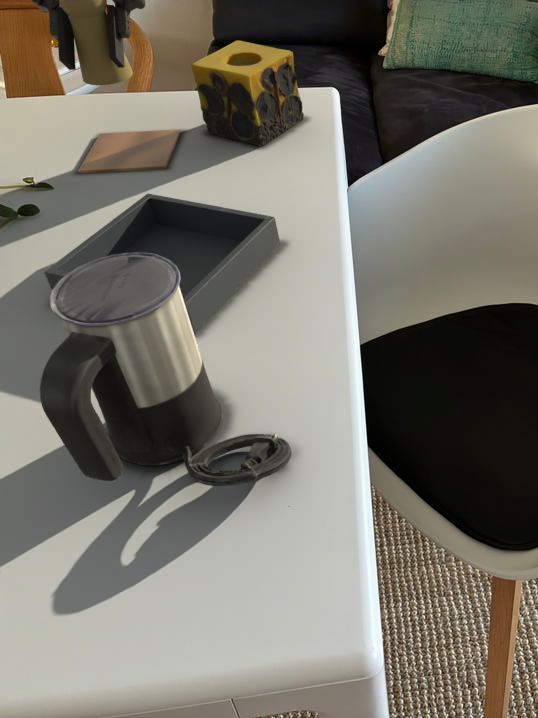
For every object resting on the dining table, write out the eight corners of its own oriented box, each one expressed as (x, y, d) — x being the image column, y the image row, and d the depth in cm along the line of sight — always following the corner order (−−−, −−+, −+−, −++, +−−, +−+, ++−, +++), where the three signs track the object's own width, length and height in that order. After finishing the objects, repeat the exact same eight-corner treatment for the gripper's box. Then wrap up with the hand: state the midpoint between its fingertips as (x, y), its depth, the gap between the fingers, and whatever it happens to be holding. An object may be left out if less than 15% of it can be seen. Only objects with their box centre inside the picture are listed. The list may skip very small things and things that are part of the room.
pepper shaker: (98, 89, 95) (65, -6, 88) (73, 77, 98) (40, -16, 91) (142, 74, 99) (114, -18, 92) (117, 63, 102) (88, -28, 95)
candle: (251, 107, 116) (237, 38, 110) (306, 119, 113) (295, 50, 106) (205, 134, 109) (187, 63, 103) (262, 148, 106) (248, 75, 99)
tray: (57, 302, 80) (43, 271, 77) (156, 221, 92) (147, 193, 89) (195, 334, 76) (185, 303, 73) (281, 246, 88) (275, 216, 85)
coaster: (78, 173, 101) (77, 170, 101) (100, 136, 109) (99, 133, 109) (165, 168, 102) (165, 166, 101) (180, 132, 110) (180, 129, 110)
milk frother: (128, 391, 70) (70, 252, 60) (305, 382, 71) (277, 243, 61) (79, 520, 59) (-2, 376, 49) (288, 507, 60) (249, 363, 50)
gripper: (168, -103, 100) (179, 73, 98) (21, -99, 98) (30, 80, 97) (147, -145, 92) (158, 45, 91) (-12, -141, 91) (-3, 53, 89)
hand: (92, 63), depth 94 cm, fingers closed on pepper shaker, 5 cm apart
